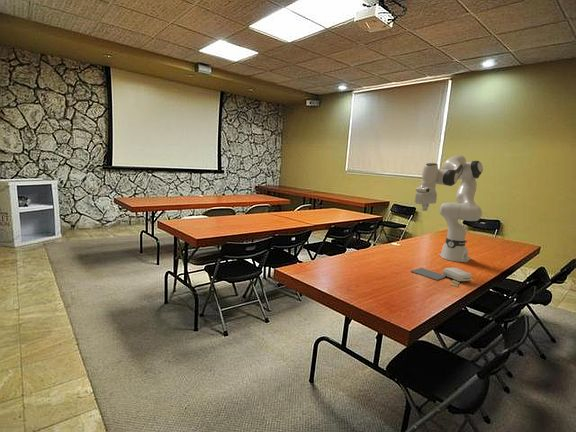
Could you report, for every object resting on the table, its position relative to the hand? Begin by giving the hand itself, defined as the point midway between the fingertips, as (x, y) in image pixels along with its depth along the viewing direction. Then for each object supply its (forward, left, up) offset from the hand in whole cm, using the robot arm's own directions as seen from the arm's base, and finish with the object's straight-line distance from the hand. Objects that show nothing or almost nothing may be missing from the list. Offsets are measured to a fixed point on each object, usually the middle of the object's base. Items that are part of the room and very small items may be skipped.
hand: (424, 210), depth 207 cm
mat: (+17, +17, -34) cm, 42 cm away
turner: (+16, +32, -34) cm, 49 cm away
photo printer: (+8, +24, -31) cm, 40 cm away
